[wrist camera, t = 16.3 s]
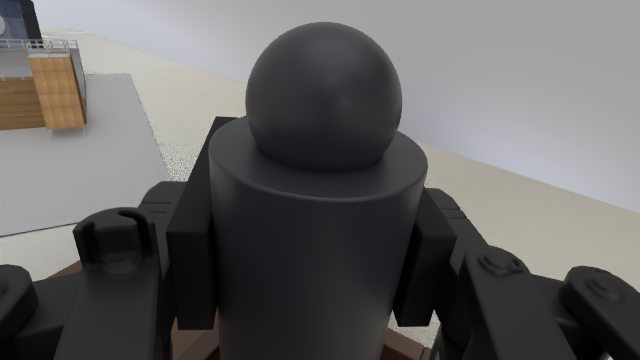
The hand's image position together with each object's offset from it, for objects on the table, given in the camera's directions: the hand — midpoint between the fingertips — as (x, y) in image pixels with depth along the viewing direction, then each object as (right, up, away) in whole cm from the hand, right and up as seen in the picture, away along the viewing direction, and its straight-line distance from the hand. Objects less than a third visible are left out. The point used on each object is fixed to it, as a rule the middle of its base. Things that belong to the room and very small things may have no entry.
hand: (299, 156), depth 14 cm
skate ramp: (-29, +3, +17) cm, 34 cm away
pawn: (0, -9, -1) cm, 9 cm away
